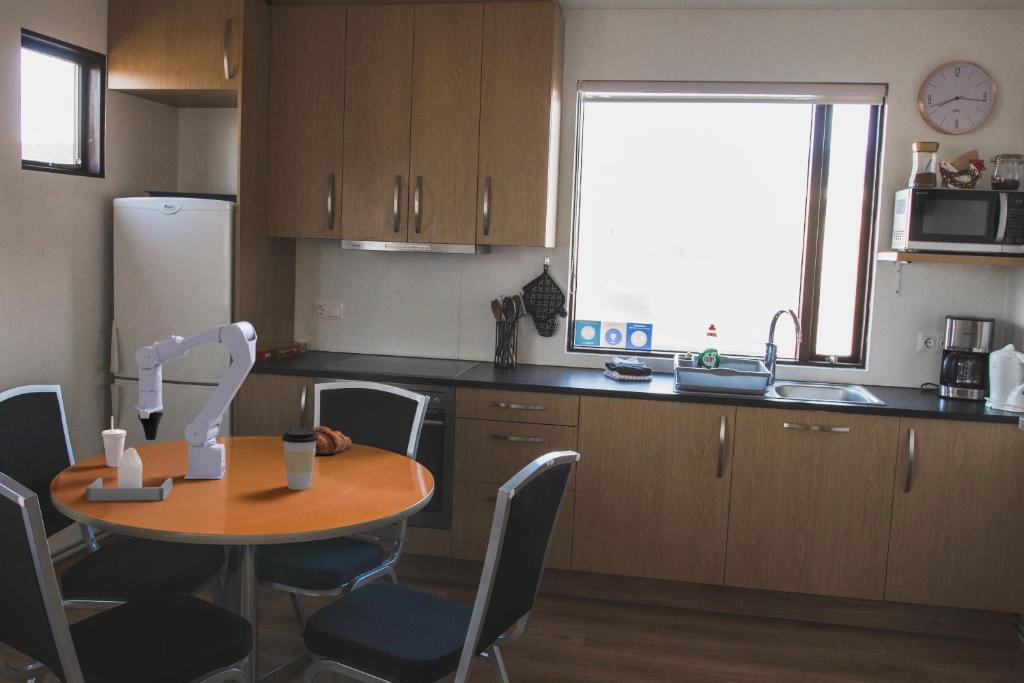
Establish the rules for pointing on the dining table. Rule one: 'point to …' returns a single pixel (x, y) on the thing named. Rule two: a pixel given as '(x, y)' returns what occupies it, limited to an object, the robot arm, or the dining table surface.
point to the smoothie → (113, 445)
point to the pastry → (330, 441)
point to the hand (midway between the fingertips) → (151, 439)
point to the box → (127, 492)
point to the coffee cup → (299, 457)
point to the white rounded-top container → (130, 469)
